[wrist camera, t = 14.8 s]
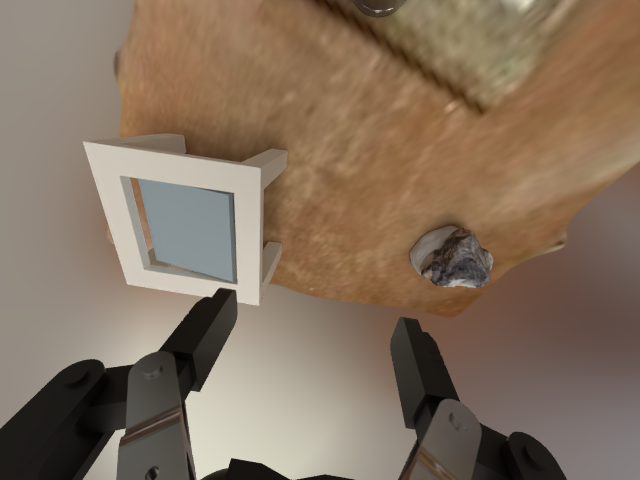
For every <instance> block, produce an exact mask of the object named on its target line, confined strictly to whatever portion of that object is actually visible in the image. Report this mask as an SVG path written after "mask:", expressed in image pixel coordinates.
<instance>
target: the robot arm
mask: <svg viewBox="0 0 640 480" xmlns="http://www.w3.org/2000/svg"><path fill="white" fill-rule="evenodd" d="M353 1H354V2H355V4H356V6H357V7H358V8H359V9H360V10H361V11H362V12H364V13H366V14H367V15H370V16H373V17H382V16H386V15H389V14H391V13H393V12H395V11H396V10H397V9H399V8H400V7H401V6H402V5H403V4H404V2H405V1H406V0H353ZM236 319H237V292H236V290H234V289H227V288H221V287H220V288H218V290H217V291H216V292H215V294H214V295H213V296H212V297H207V296H206V297H204V298H203V299H201V300H200V301H198V302H197V303H196V304H195V305H194V306H193V308H192V309H191V310H190V311H189V314H187V315H186V316H185V318H184V319H183V321H181V323H180V324H179V325H178V327H177V328H176V329H175V330H174V332H173V333H172V334H171V336H170V337H169V338H168V339H167V341H166V342H165V343H164V344H163V346H162V347H161V348H160V349H159V350H158V351H157V352H154V353H151V354H148V355H146V356H145V357H143V358H141V359H140V360H139V361H137V362H136V363H135V364H133V365H127V366H119V367H113V368H105V367H104V365H103V363H102V362H101V361H99V360H95V359H90V360H83V361H80V362H77V363H74V364H72V365H70V366H68V367H67V368H65V369H63V370H62V371H61V372H59V373H58V374H57V375H56V376H55V377H54V378H53V379H52V380H51V381H49V383H47V385H45V386H44V388H42V389H41V390H40V391H39V392H38V393H37V394H36V395H35V396H34V397H33V398H32V399H31V400H30V401H29V402H28V403H27V404H26V405H25V406H24V407H23V408H21V409H20V410H19V412H17V413H16V414H15V415H14V416H13V417H12V418H11V419H10V420H9V421H8V422H7V423H6V424H5V425H4V426H3V427H2V428H1V429H0V480H83V478H84V476H85V475H86V474H87V472H88V471H89V469H90V468H91V466H92V464H93V463H94V462H95V460H96V459H97V457H98V456H99V454H100V453H101V451H102V450H103V448H104V447H105V445H106V444H107V442H108V441H109V439H110V438H111V436H112V435H113V433H114V432H115V430H120V429H125V428H126V431H125V435H124V436H123V437H121V439H120V443H119V449H118V464H117V478H116V480H196V473H195V466H194V461H193V455H192V449H191V442H190V435H189V427H188V420H187V413H186V405H185V400H186V398H187V396H188V394H189V393H190V391H196V392H200V390H201V388H202V386H203V385H204V383H205V381H206V379H207V377H208V375H209V373H210V371H211V369H212V367H213V365H214V364H215V361H216V360H217V358H218V356H219V354H220V352H221V350H222V348H223V346H224V344H225V342H226V341H227V338H228V337H229V335H230V333H231V331H232V329H233V327H234V325H235V322H236ZM390 349H391V356H392V361H393V366H394V371H395V376H396V381H397V386H398V391H399V396H400V401H401V406H402V411H403V416H404V421H405V426H406V428H410V429H415V430H416V434H417V440H416V441H415V444H414V446H413V448H412V450H411V452H410V454H409V457H408V459H407V461H406V463H405V465H404V468H403V470H402V472H401V474H400V476H399V478H398V480H567V479H566V477H565V475H564V474H563V472H562V470H561V468H560V467H559V465H558V463H557V461H556V460H555V459H554V457H553V456H552V454H551V453H550V452H549V451H548V450H547V448H546V447H544V446H543V445H542V444H541V443H540V442H539V441H538V440H536V439H535V438H533V437H531V436H530V435H528V434H526V433H523V432H513V433H512V434H511V435H510V436H509V437H507V436H505V435H503V434H500V433H499V432H497V431H494V430H492V429H490V428H488V427H486V426H484V425H483V424H481V423H479V422H478V420H477V418H476V417H475V415H474V414H473V413H472V412H471V411H470V409H469V408H467V407H466V406H465V405H464V404H462V403H461V402H460V400H459V398H458V395H457V393H456V390H455V388H454V385H453V383H452V381H451V378H450V376H449V373H448V371H447V368H446V366H445V365H444V361H443V358H442V356H441V355H440V351H439V349H438V346H437V344H436V342H435V341H434V339H433V338H432V337H431V336H430V335H429V333H427V332H422V330H421V327H420V324H419V322H418V320H416V319H411V318H405V317H400V318H399V321H398V323H397V325H396V328H395V331H394V333H393V336H392V338H391V344H390ZM201 480H290V479H288V478H286V477H284V476H283V475H281V474H279V473H278V472H276V471H274V470H272V469H271V468H269V467H267V466H265V465H263V464H262V463H256V462H249V461H245V460H239V459H233V458H231V461H230V464H229V467H228V468H226V469H222V470H219V471H216V472H214V473H212V474H210V475H207V476H206V477H204V478H202V479H201ZM297 480H354V479H348V478H342V477H336V476H331V475H319V476H314V477H308V478H303V479H297Z"/></svg>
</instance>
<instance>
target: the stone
mask: <svg viewBox="0 0 640 480" xmlns="http://www.w3.org/2000/svg"><path fill="white" fill-rule="evenodd" d="M409 254H410V258H411V264H412V266H414V269H415V270H416V271H417V272H418V273H419V274H421V276H422V277H424V278H426V279H430V280H431V281H432V283H433V284H435V285H436V286H443V287H447V286H450V287H455V286H456V285H458V286H465V287H468V288H470V287H475V288H478V287H481V286H484V285H486V284H487V283H488V282H489V281H490V269H491V268H492V264H493V258H492V256H491V254H490V253H489V252H488V251H487V250H485V249H483V248H481V247H480V245H479V242H478V240H477V239H476V237H475V234H474V233H473V232H472V231H469V230H465V229H464V228H462V229H460V228H457V227H454V226H446V227H443V228H440V229H436V230H432V231H430V232H428V233H426V234H425V235H423V236H422V237H421V238H420V240H419V241H418V242H417V243H416V244H415V245H414V246H413V248H412V249H411V251H410V253H409Z"/></svg>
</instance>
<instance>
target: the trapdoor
mask: <svg viewBox="0 0 640 480" xmlns="http://www.w3.org/2000/svg"><path fill="white" fill-rule="evenodd" d="M138 180H139V185H140V189H141V194H142V198H143V202H144V207H145V211H146V216H147V220H148V225H149V229H150V233H151V238H152V242H153V247H154V251H155V255H156V260H158V261H161V262H165V263H168V264H172V265H175V266H179V267H182V268H186V269H189V270H193V271H196V272H200V273H203V274H207V275H210V276H214V277H217V278H221V279H224V280H228V281H231V282H233V281H234V280H235V279H236V257H235V234H234V211H233V193H230V192H225V191H218V190H212V189H205V188H198V187H192V186H185V185H179V184H172V183H166V182H159V181H152V180H146V179H139V178H138Z"/></svg>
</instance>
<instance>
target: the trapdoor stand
mask: <svg viewBox="0 0 640 480" xmlns="http://www.w3.org/2000/svg"><path fill="white" fill-rule="evenodd" d="M83 144H84V147H85V150H86V154H87V157H88V160H89V163H90V166H91V170H92V173H93V175H94V179H95V182H96V185H97V189H98V192H99V195H100V198H101V202H102V205H103V208H104V211H105V215H106V218H107V221H108V224H109V227H110V231H111V234H112V237H113V240H114V243H115V246H116V250H117V253H118V256H119V259H120V262H121V266H122V269H123V272H124V275H125V278H126V282H127V284H128V285H135V286H141V287H147V288H153V289H159V290H166V291H172V292H178V293H184V294H190V295H197V296H203V297H206V296H207V297H212V296H213V295H214V294H215V292H216V291H217V290H218V288H220V287H221V288H227V289H234V290H236V292H237V302H240V303H246V304H252V305H258V306H259V305H260V302H261V300H262V298H263V295H264V293H265V291H266V289H267V287H268V284H269V282H270V280H271V278H272V275H273V273H274V271H275V269H276V267H277V264H278V262H279V260H280V258H281V255H282V243H277V242H271V241H268V243H267V245H266V246H265V248H264V250H263V209H264V189H265V188H266V187H267V186H268V185H269V184H270V183H271V182H272V181H273V180H274V179H275V178H277V177H278V176H279V175H280V174H281V173H282V172H283V171H284V170H285V169H286V168H287V160H288V151H286V150H279V149H272V148H271V149H269V150H267V151H265V152H262V153H260V154H258V155H256V156H254V157H251V158H249V159H247V160H245V161H243V162H236V161H229V160H222V159H216V158H209V157H202V156H195V155H189V154H184V153H186V146H185V138H184V135H178V134H171V133H163V134H153V135H143V136H133V137H123V138H112V139H104V140H103V139H102V140H92V141H83ZM130 177H133V178H139V179H146V180H152V181H159V182H166V183H172V184H179V185H185V186H192V187H198V188H205V189H212V190H218V191H225V192H231V193H234V205H235V230H236V254H237V278H236V279H235V280H234V281H233V282H231V281H228V280H224V279H221V278H217V277H214V276H210V275H207V274H203V273H200V272H194V271H188V270H181V269H175V268H169V266H170V265H171V264H168V263H165V262H161V261H158V260H156V255H155V251H154V248H153V249H151V250H150V251H147V247H146V243H145V239H144V235H143V231H142V227H141V222H140V218H139V214H138V210H137V206H136V202H135V198H134V194H133V189H132V185H131V181H130Z"/></svg>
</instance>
